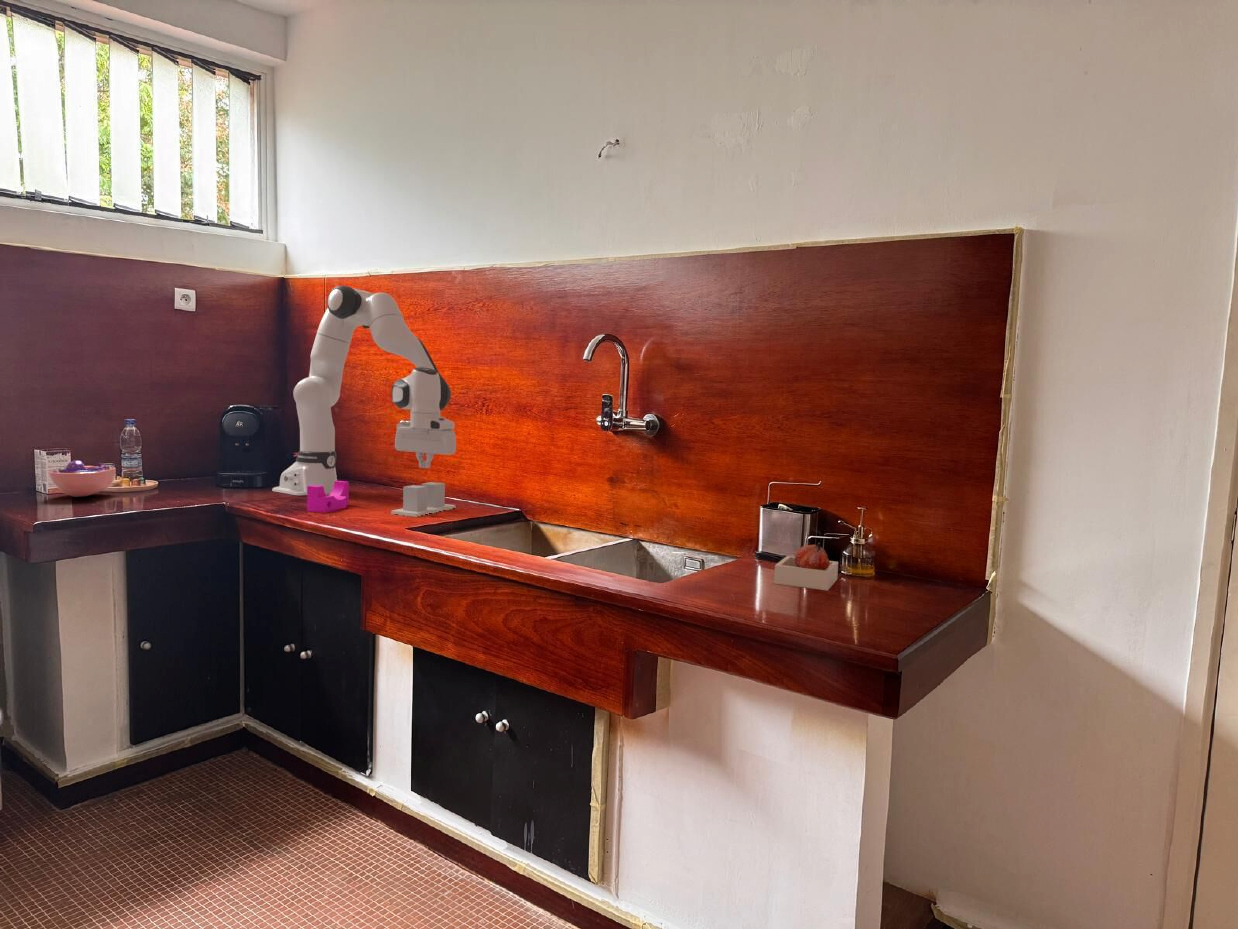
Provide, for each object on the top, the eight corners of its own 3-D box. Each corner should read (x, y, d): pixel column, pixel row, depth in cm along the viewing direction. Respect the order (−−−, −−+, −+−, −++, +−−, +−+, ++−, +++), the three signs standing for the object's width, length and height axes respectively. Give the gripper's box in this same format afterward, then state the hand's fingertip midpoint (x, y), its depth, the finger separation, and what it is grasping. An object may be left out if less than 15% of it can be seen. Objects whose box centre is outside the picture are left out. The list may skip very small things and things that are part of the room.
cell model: (131, 492, 280) (131, 457, 278) (83, 501, 260) (82, 463, 259) (85, 489, 282) (84, 455, 281) (34, 498, 263) (32, 460, 262)
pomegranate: (783, 572, 193) (795, 532, 190) (813, 574, 195) (825, 534, 192) (797, 589, 187) (809, 548, 183) (827, 591, 188) (840, 550, 185)
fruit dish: (773, 583, 188) (774, 565, 188) (786, 573, 198) (787, 555, 198) (827, 590, 183) (828, 572, 183) (837, 579, 194) (838, 561, 193)
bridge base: (391, 514, 257) (391, 487, 257) (431, 505, 276) (431, 480, 275) (416, 517, 254) (416, 489, 253) (455, 508, 272) (455, 482, 271)
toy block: (324, 512, 257) (324, 487, 256) (307, 511, 259) (307, 486, 258) (355, 506, 271) (355, 482, 270) (338, 504, 273) (338, 480, 272)
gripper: (390, 420, 263) (390, 465, 265) (447, 424, 255) (446, 471, 257) (403, 419, 269) (403, 464, 270) (459, 423, 261) (458, 469, 262)
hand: (424, 467), depth 263 cm, fingers closed
